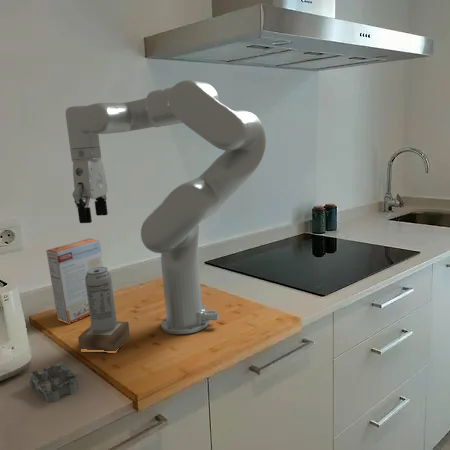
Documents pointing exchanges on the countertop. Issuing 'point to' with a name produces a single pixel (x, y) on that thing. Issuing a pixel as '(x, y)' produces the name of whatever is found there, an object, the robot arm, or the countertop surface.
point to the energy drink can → (100, 299)
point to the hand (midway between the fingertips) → (94, 218)
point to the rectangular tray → (105, 338)
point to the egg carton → (54, 381)
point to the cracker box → (73, 276)
